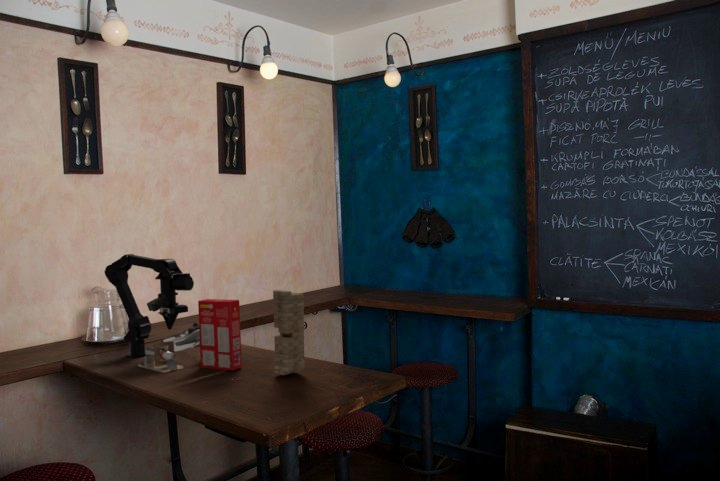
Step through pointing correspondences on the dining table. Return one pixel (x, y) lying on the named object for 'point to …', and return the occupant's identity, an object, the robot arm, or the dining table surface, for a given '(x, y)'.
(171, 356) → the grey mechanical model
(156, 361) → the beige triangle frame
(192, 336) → the jigsaw machine
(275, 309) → the block tower
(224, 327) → the food packaging
